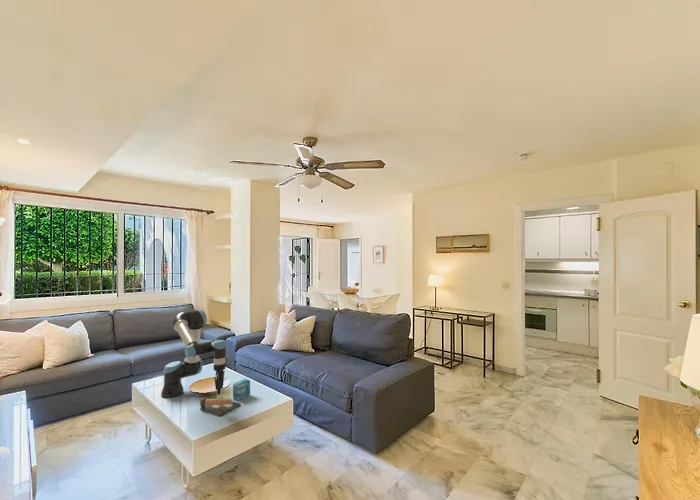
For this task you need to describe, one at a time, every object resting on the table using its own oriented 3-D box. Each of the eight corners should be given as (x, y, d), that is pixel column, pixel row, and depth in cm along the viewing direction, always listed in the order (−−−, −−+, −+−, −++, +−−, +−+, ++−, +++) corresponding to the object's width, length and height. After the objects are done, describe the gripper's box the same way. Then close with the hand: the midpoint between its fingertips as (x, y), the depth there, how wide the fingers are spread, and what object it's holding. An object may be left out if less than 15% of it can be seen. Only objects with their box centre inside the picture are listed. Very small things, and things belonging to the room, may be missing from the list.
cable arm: (199, 406, 225) (199, 400, 225) (201, 403, 228) (201, 397, 228) (229, 405, 225) (229, 399, 225) (231, 403, 229) (231, 397, 229)
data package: (236, 401, 239) (236, 384, 239) (232, 399, 242) (232, 383, 242) (250, 395, 249) (250, 379, 249) (246, 394, 251) (246, 378, 252)
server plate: (199, 409, 226) (199, 405, 226) (221, 399, 241) (221, 395, 241) (219, 416, 216) (219, 412, 216) (240, 405, 232) (240, 401, 232)
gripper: (221, 366, 216) (221, 402, 215) (228, 360, 229) (228, 394, 228) (210, 366, 216) (210, 402, 215) (217, 360, 229) (217, 394, 228)
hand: (219, 398), depth 222 cm, fingers closed
